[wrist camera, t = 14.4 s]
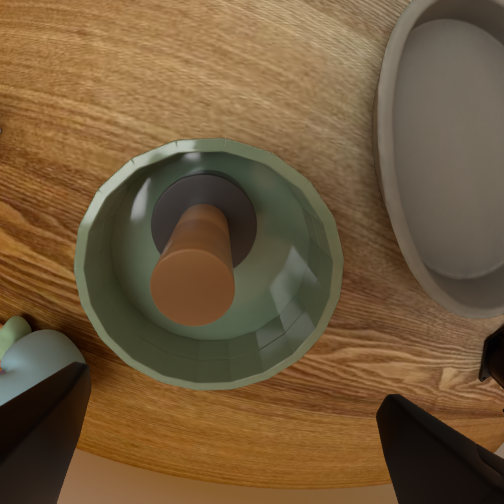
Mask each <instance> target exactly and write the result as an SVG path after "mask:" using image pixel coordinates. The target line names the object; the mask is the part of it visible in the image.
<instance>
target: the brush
mask: <svg viewBox="0 0 504 504" xmlns="http://www.w3.org/2000/svg"><path fill="white" fill-rule="evenodd" d="M151 232H152V238H153V241H154V244H155V246H156V248H157V250H158V252H159V253H160V255H161V256H160V258H159V260H158V262H157V264H156V266H155V268H154V270H153V272H152V275H151V279H150V292H151V296H152V299H153V301H154V303H155V305H156V307H157V308H158V309H159V311H160V312H161V313H162V314H163V315H164V316H166V317H167V318H168V319H170V320H172V321H173V322H175V323H178V324H181V325H185V326H203V325H207V324H210V323H212V322H214V321H216V320H218V319H219V318H221V317H222V316H223V315H224V314H225V313H226V312H227V311H228V309H229V308H230V306H231V304H232V302H233V299H234V295H235V283H234V274H233V269H234V268H235V267H237V266H238V265H239V264H240V263H241V262H242V261H243V260H244V259H245V258H246V257H247V255H248V254H249V252H250V251H251V249H252V247H253V245H254V242H255V239H256V233H257V218H256V213H255V210H254V207H253V204H252V203H251V201H250V199H249V197H248V195H247V193H246V192H245V190H244V189H243V187H242V186H241V185H240V184H239V183H238V182H237V181H236V180H235V179H234V178H232V177H230V176H229V175H227V174H225V173H222V172H219V171H216V170H197V171H193V172H190V173H188V174H186V175H184V176H182V177H180V178H179V179H178V180H176V181H175V182H174V183H173V184H171V185H170V186H169V187H168V188H167V189H166V190H165V191H164V192H163V193H162V194H161V196H160V197H159V199H158V200H157V202H156V204H155V207H154V209H153V213H152V218H151Z"/></svg>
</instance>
